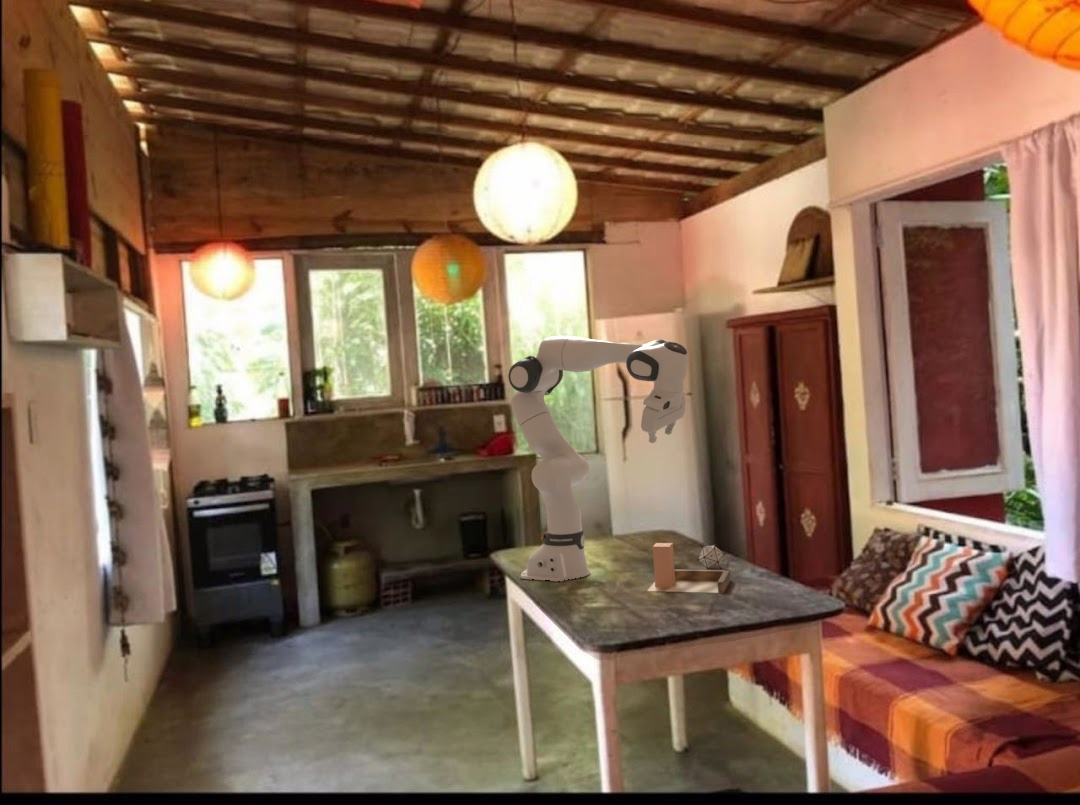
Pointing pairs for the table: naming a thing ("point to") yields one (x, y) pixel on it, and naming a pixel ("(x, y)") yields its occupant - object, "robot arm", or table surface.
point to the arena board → (697, 581)
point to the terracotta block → (664, 565)
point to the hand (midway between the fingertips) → (660, 437)
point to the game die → (711, 557)
